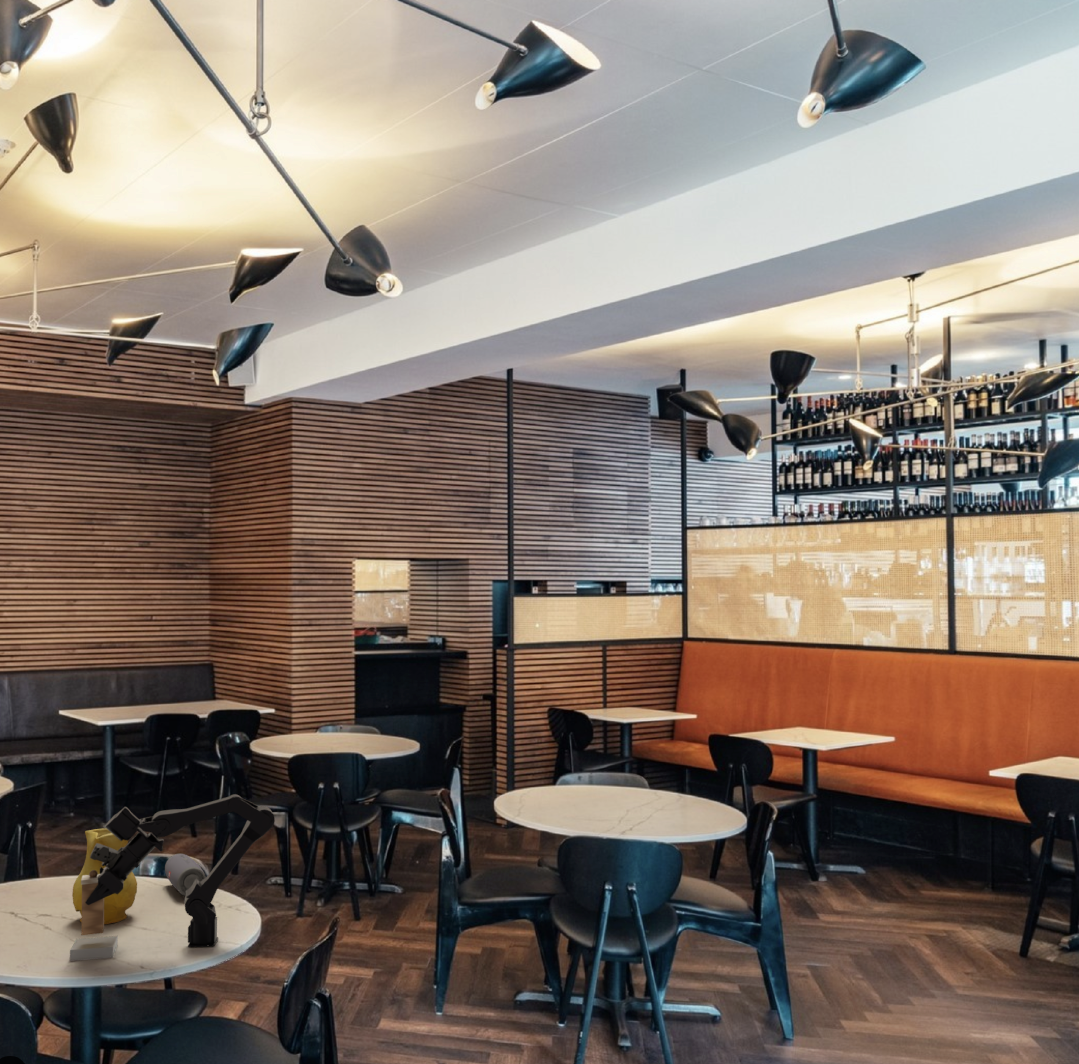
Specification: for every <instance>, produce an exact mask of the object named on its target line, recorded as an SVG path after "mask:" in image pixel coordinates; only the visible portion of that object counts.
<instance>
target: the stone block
mask: <svg viewBox="0 0 1079 1064" xmlns="http://www.w3.org/2000/svg"><path fill="white" fill-rule="evenodd" d="M118 939H119V938H118V935H108V936H95V937H93V936H92V937H81V938H79V937H78V938H75V941H74V942H73V944H72V945H71V948H70V949H69V961H71V962H72V961H85V960H87V961H88V960H97V959H111V958H112V959H113V958H114V956H115V953H116V950H117V948H118Z"/></svg>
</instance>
